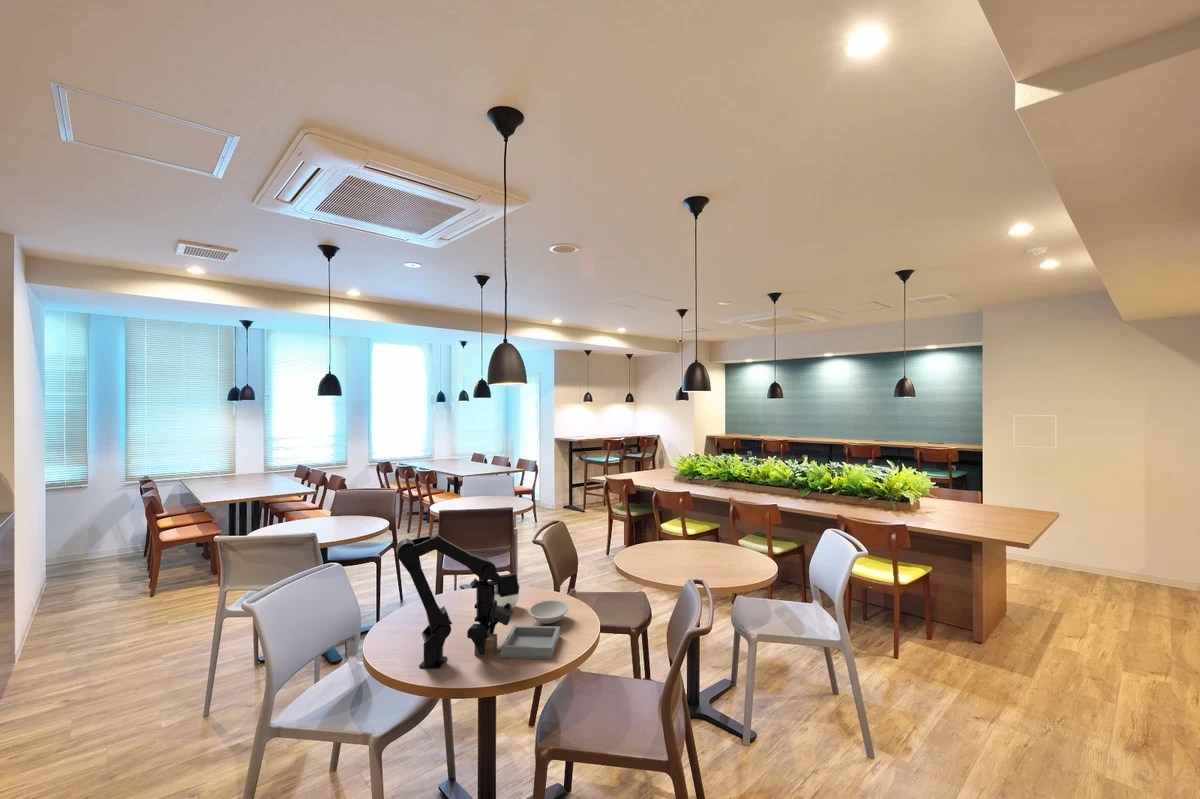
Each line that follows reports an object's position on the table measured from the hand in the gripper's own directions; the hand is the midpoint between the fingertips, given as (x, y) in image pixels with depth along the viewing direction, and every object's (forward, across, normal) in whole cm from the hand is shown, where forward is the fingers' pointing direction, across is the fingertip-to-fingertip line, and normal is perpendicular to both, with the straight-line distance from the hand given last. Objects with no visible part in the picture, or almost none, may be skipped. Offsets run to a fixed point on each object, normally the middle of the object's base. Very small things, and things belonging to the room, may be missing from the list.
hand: (486, 648), depth 165 cm
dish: (+1, +24, -16) cm, 29 cm away
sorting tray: (+1, +4, -14) cm, 15 cm away
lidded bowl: (+1, +36, +4) cm, 36 cm away
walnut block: (+1, 0, 0) cm, 1 cm away
